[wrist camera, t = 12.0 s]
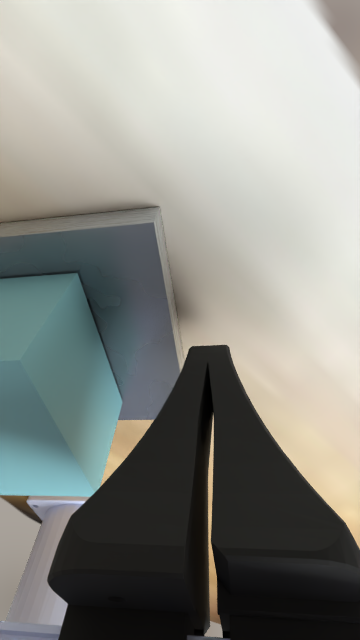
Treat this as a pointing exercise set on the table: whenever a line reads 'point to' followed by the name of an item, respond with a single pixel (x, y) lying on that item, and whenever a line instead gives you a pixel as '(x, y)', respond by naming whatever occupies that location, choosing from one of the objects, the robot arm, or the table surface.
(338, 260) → the table surface
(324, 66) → the table surface
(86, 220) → the press bed
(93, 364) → the block
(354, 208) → the table surface
